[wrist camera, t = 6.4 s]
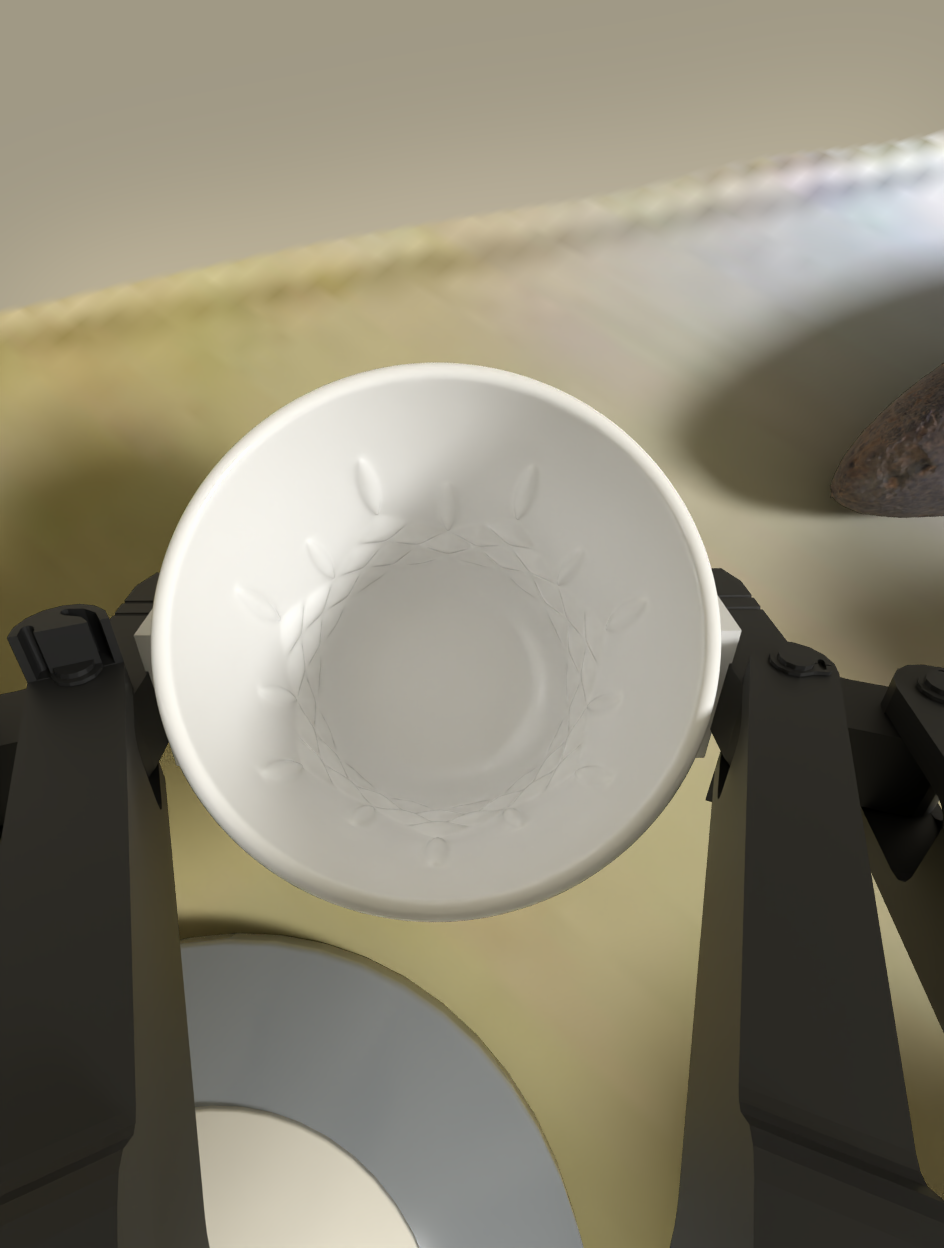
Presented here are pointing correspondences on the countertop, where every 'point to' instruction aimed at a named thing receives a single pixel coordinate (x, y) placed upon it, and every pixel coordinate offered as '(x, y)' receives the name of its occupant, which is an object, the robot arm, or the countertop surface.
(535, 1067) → the countertop surface
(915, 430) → the perforated stone tool
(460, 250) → the countertop surface
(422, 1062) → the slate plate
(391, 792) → the white cup
